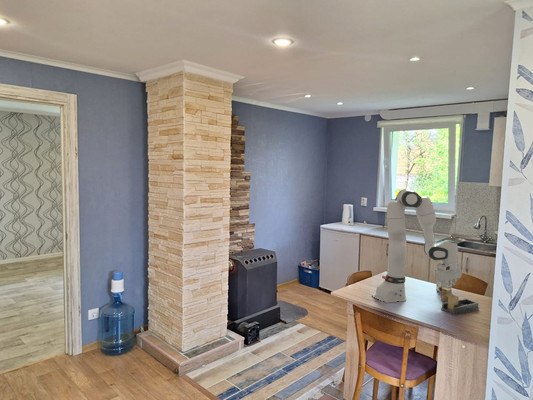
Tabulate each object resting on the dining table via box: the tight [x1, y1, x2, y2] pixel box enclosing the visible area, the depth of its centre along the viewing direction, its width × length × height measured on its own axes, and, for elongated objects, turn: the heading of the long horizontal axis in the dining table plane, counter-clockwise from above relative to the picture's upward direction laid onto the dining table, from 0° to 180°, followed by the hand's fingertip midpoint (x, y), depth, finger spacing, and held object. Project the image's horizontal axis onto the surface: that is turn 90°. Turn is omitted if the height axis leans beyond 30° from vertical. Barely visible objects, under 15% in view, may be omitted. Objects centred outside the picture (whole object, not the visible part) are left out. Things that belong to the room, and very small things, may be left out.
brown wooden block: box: [440, 288, 453, 303], centre depth 237 cm, size 5×4×8 cm
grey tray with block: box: [440, 294, 480, 316], centre depth 223 cm, size 22×9×10 cm, turn 116°
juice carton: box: [435, 279, 453, 293], centre depth 254 cm, size 8×9×19 cm
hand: (448, 286), depth 236 cm, fingers open, 8 cm apart
